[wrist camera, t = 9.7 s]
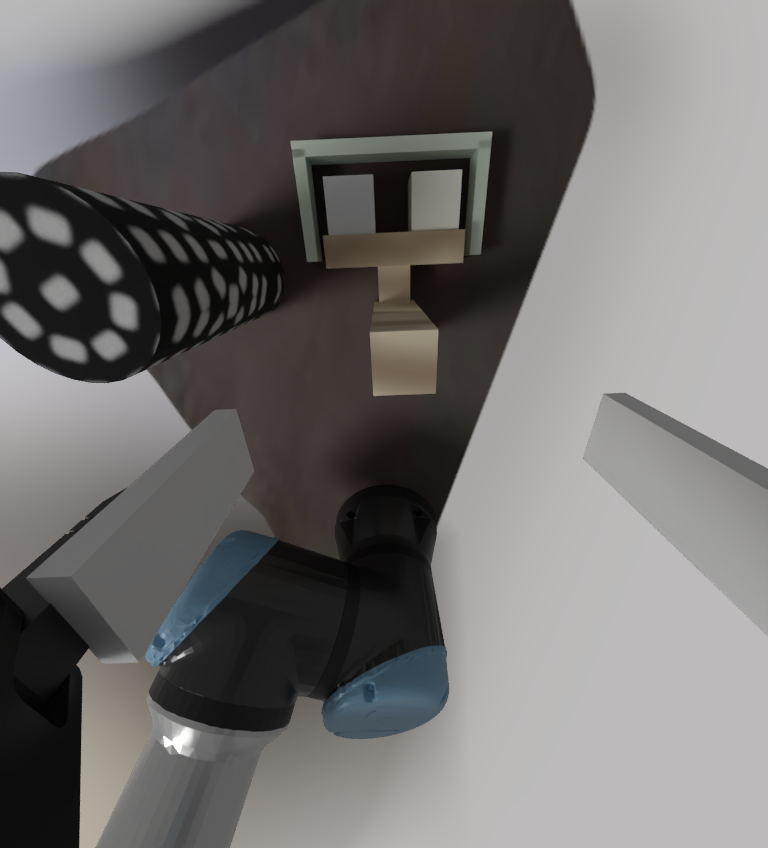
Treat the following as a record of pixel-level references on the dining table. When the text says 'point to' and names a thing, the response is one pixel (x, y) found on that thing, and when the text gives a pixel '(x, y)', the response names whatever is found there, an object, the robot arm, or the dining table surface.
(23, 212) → the spotted tube
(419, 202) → the off-white cube
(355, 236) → the cream t-shaped block
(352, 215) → the gray cube
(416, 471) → the dining table surface
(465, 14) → the dining table surface
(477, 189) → the bay
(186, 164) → the dining table surface
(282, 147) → the dining table surface
